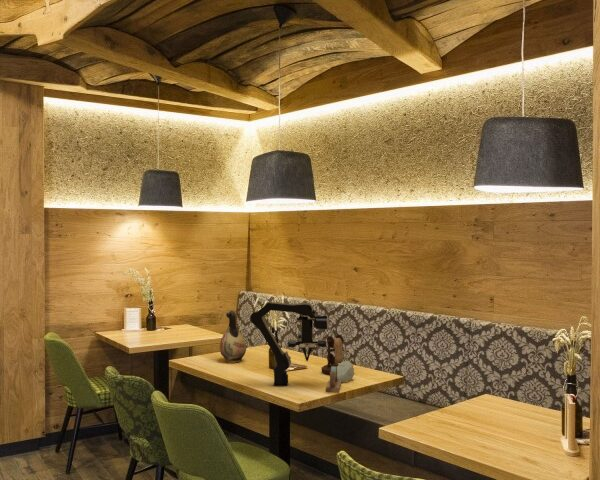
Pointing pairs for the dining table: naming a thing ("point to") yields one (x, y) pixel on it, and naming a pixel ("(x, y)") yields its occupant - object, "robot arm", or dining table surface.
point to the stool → (333, 383)
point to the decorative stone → (345, 371)
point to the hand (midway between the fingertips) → (307, 360)
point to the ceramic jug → (232, 341)
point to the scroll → (338, 349)
